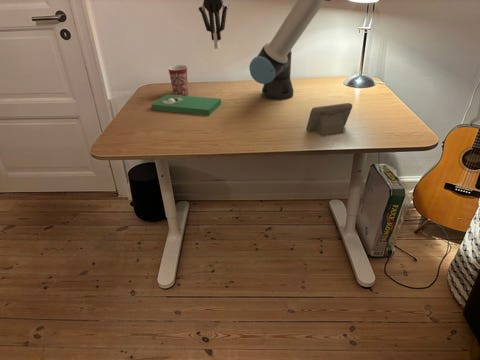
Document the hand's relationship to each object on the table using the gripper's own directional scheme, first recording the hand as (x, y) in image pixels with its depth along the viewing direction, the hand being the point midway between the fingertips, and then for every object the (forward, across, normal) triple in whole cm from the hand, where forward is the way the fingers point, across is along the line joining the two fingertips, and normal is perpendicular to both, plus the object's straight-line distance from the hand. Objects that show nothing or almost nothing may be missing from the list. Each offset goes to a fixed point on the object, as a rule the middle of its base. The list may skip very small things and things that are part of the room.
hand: (217, 47), depth 155 cm
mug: (+23, +22, -3) cm, 32 cm away
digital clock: (+25, -51, +28) cm, 64 cm away
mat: (+23, +12, +14) cm, 29 cm away
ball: (+21, +20, +14) cm, 32 cm away
